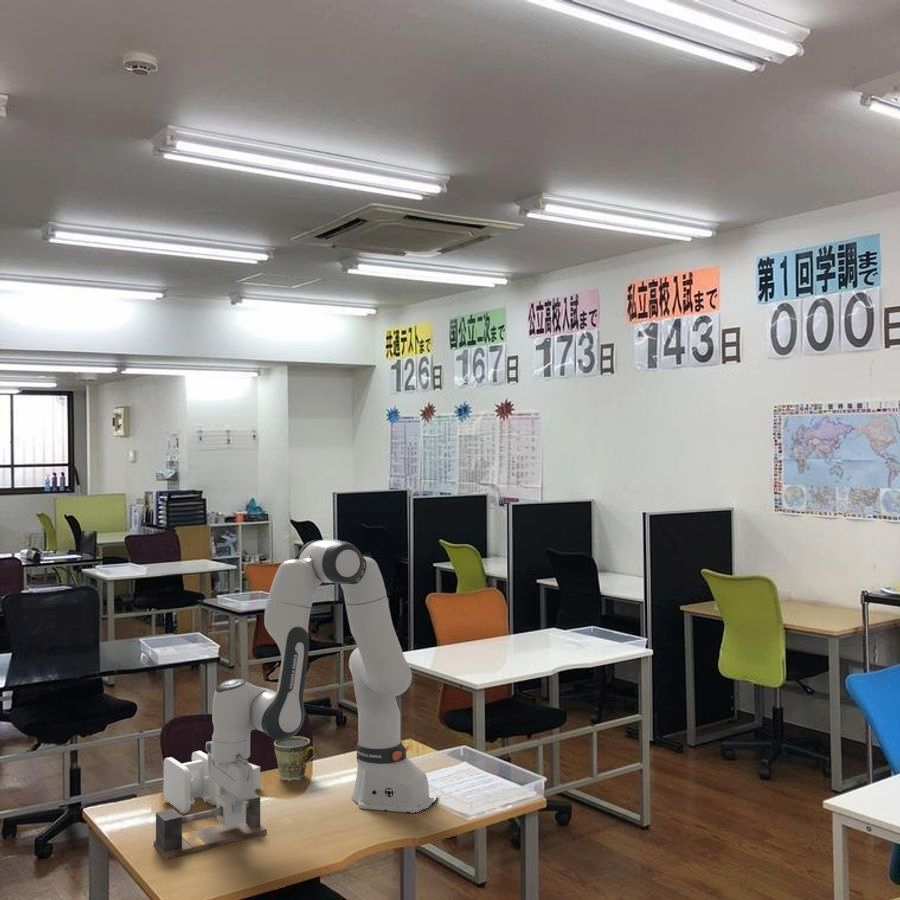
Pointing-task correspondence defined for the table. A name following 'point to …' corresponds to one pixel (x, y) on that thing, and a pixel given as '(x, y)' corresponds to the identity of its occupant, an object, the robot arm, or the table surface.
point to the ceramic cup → (293, 757)
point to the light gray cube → (256, 775)
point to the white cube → (230, 810)
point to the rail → (203, 830)
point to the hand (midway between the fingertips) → (231, 808)
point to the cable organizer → (189, 782)
